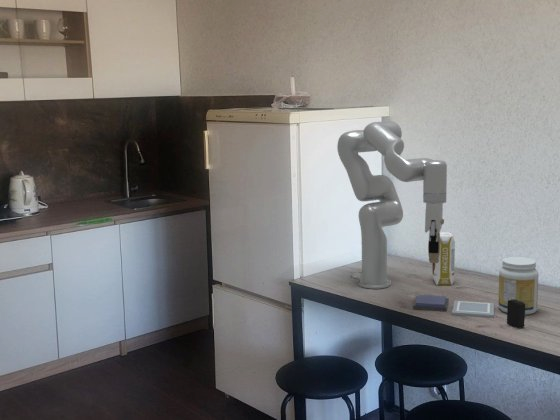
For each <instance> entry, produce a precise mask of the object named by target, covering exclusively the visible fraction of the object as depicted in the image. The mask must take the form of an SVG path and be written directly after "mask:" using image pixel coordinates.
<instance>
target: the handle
mask: <svg viewBox="0 0 560 420" xmlns="http://www.w3.org/2000/svg"><path fill="white" fill-rule="evenodd" d="M444 224H445V219H444V218H442V220H441V225H444ZM435 232H437V230H435ZM440 232H441V231H440ZM440 232H439V233H438V241H439V252H438V253H429V242H428V244H427V245H428V248H427V249H428V250H427V251H428V261H429V263H430V264H433V263H438V262H439V259H438V258H439V255H440ZM435 235H436V234H435Z"/></svg>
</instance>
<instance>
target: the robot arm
mask: <svg viewBox="0 0 560 420" xmlns="http://www.w3.org/2000/svg"><path fill="white" fill-rule="evenodd" d="M336 148H337V153H338V156H339V159H340V161H341V163H342V166H343V167H344V169H345V171H346V174H347V176H348V179H349V182H350V184H351V187H352V190H353V195H355V198H356V200H358V201H359V202H369V203H366V204H363V206H361V207H360V209H359V211H358V222H359V227H360V234H361V235H360V237H361V272H350V278H352V279H354V280H357V285H358V286H359V287H361V288H365V289H371V290H373V289H374V290H375V289H376V290H377V289H386V288H389V287H391V285H392V281H391V280H390V279H388V239H387V235H386V234H385V232H384V230H383V228H384V227H390V226H391V227H392V226H396V225H398V224H400V223H401V222H402V220H403V217H404V211H403V206H402V204H401V201H400V198H399V196H398V193H397V189H396V187H395V185H394V182H393V180H392V179H391V178H390V177H389V176H387V175H385V174H375V175H374V174H372V172H371V170H370V167H369V164H368V162H367V161H366V160H365V159H364V158H363V157H362V156H361V155H360V154H359V153H369V152H376V151H377V153H378V152H379V153H380V154H381V155H382V156H383V158H384V159H383V161H384V164H385V168H386V170H387V171H388V173H390V175H392V176H393V177H394V178H395V179H397V180H399V181H401V182H403V183H409V182H417V181H419V182H420V181H421V182H422V181H423V182H422V183H423V191H422V193H423V195H422V202H423V203H424V204H425V214H424V215H425V216H424V217H425V220H424V222H425V223H424V232H425V233H428V232H429V233H428V243H429V253H438V252H439V241H438V233H439V232H441V230H442V225H443V224H442V225H441V220H442V219H443V215H444V214H443V211H444V208H443V207H444V205H443V204H446V203H447V187H448V186H447V185H448V184H447V181H448V179H447V178H448V177H447V176H448V175H447V171H448V169H447V167H448V164H447V163H446V161H444V160H441V159H439V160H437V159H431V158H428V157H420V158H410V159H404V158H403V157H401V155H402V154H403V152H404V148H405V142H404V140H403V139H402V128H401V126H400V125H399V124H398V123H397V122H395V121H391V120H388V121H373V122H370V123H368V124H367V125H366V126H365V127H364V129H356V130H349V131H346V132H343V133H342V134H341V135H340V136H339V138H338V140H337V147H336ZM373 201H376V202H373ZM435 230H437V232H435ZM435 234H436V235H435Z"/></svg>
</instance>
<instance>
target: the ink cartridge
mask: <svg viewBox="0 0 560 420" xmlns="http://www.w3.org/2000/svg"><path fill="white" fill-rule="evenodd" d="M506 315H507V316H506V324H507V326H511V327H513V328H515V329H518V330H519V329H522V328H525V319H526V317H525V316H526V315H525V303H523V302H521V301H518V300H513V299H512V300H508V308H507V313H506Z"/></svg>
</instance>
